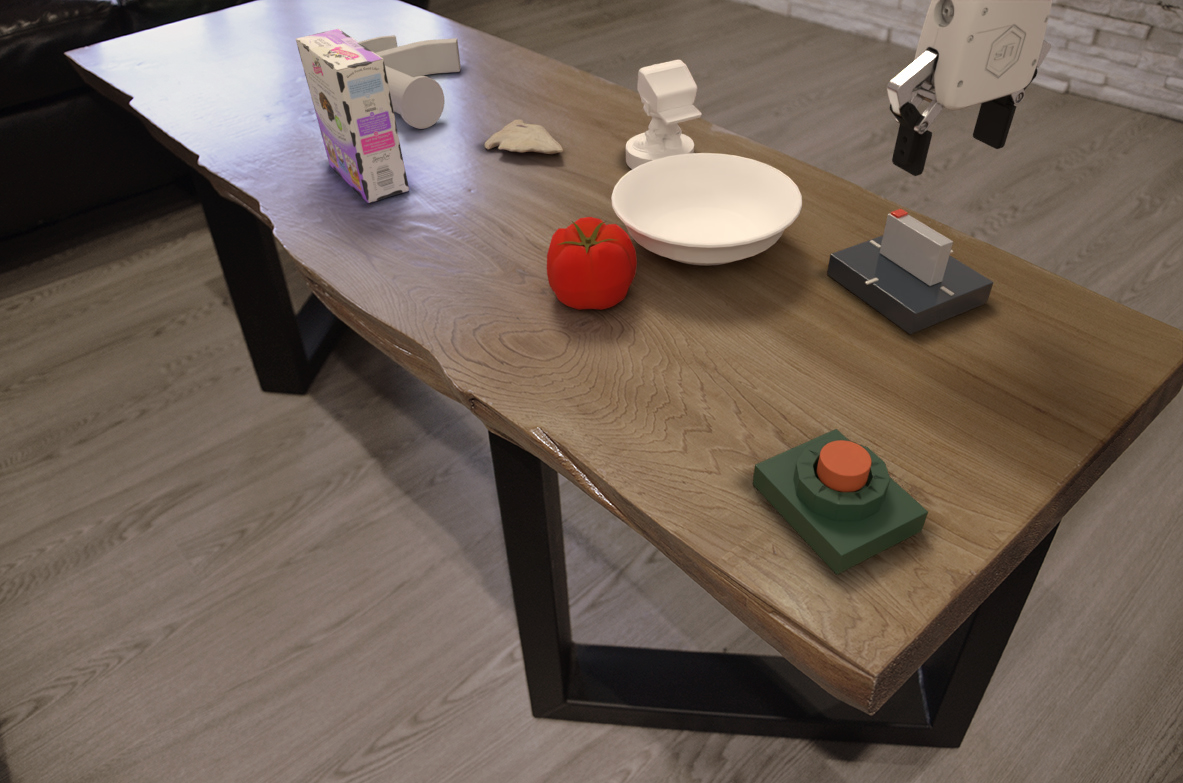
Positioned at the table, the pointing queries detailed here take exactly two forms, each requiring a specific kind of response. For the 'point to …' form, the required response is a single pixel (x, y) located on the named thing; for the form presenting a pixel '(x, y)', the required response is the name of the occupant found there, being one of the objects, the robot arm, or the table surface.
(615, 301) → the tomato
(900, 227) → the grey block
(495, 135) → the decorative stone
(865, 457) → the button
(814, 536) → the green button base
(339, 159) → the candy box
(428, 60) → the faucet
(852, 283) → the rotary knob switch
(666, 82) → the character figurine
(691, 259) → the bowl
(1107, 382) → the table surface
